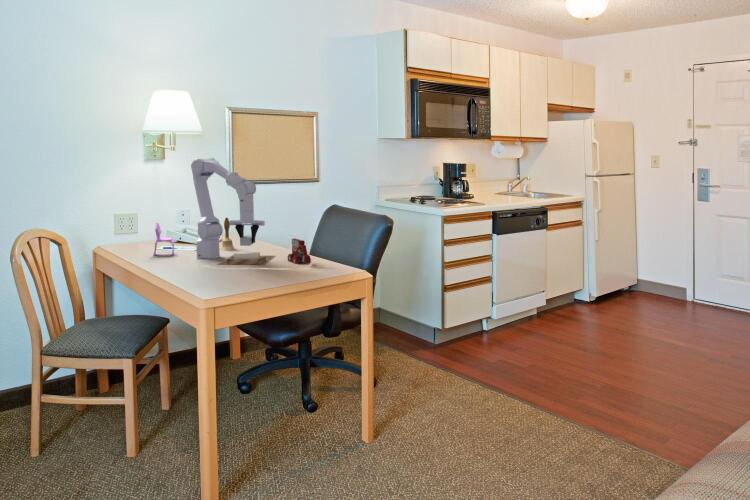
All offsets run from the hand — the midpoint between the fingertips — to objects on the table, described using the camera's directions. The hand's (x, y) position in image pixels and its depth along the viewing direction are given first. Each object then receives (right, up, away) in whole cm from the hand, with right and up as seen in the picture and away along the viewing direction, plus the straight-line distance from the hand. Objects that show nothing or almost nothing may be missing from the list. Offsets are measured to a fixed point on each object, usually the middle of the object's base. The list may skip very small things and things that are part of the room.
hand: (247, 242), depth 247 cm
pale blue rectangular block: (0, -1, 0) cm, 1 cm away
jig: (-1, -8, +6) cm, 10 cm away
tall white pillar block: (0, -8, +1) cm, 8 cm away
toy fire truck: (+22, -9, +3) cm, 24 cm away
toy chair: (-43, -6, +22) cm, 49 cm away
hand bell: (-17, -4, +32) cm, 37 cm away
